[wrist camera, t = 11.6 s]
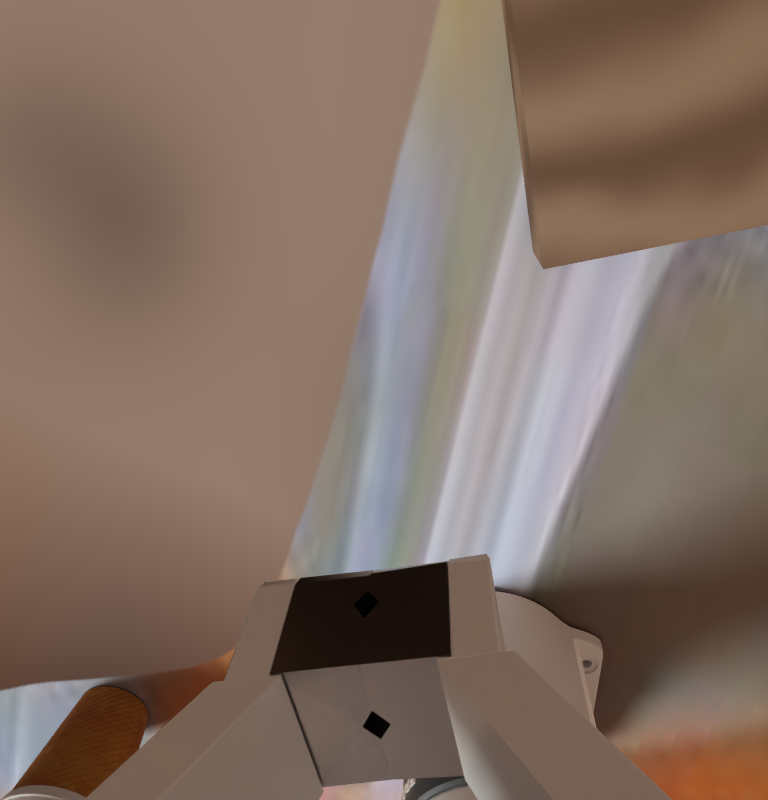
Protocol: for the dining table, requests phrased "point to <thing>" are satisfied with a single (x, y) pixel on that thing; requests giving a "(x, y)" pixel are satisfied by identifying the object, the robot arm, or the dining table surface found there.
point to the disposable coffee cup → (85, 747)
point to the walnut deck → (639, 121)
